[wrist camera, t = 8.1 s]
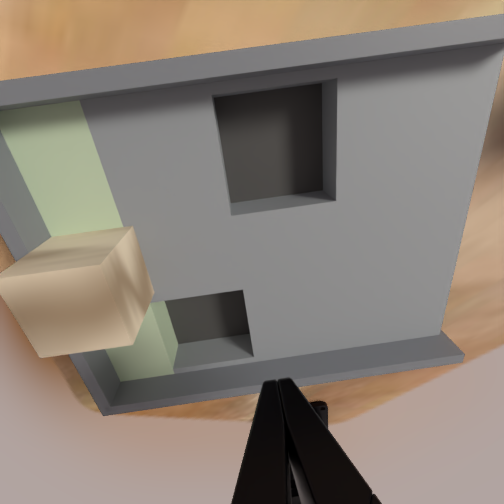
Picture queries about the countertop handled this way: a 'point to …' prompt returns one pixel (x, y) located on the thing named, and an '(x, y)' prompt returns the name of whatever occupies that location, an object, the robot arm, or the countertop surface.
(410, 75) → the box
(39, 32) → the countertop surface
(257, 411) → the robot arm
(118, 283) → the birch block
